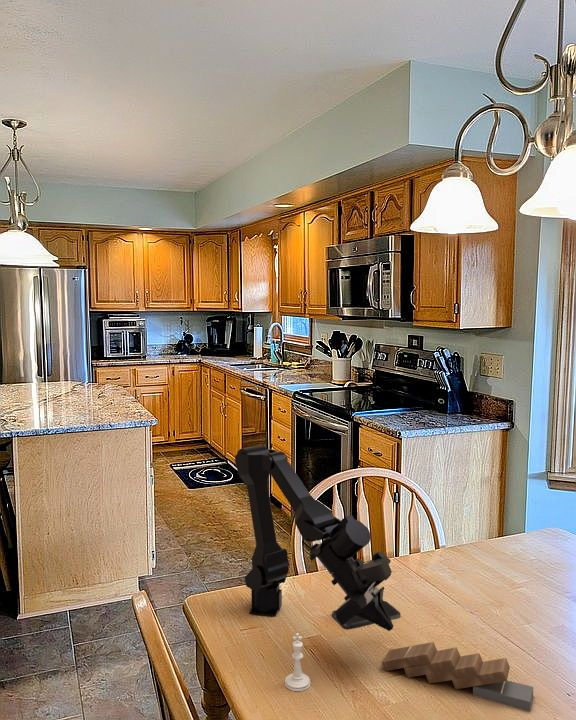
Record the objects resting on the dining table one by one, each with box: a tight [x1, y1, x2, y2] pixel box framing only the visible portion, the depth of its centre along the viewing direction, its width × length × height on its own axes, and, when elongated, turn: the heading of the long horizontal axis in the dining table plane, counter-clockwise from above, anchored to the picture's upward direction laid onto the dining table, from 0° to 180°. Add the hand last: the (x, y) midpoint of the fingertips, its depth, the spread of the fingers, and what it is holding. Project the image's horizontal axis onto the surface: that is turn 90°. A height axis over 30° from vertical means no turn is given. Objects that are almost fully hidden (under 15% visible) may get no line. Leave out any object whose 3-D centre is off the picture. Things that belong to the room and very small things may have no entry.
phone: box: [331, 600, 401, 630], centre depth 145 cm, size 8×1×15 cm
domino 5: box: [472, 679, 534, 712], centre depth 115 cm, size 2×5×10 cm
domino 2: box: [403, 646, 461, 678], centre depth 121 cm, size 2×5×10 cm
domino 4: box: [451, 657, 511, 690], centre depth 117 cm, size 2×5×10 cm
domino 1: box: [381, 641, 438, 672], centre depth 123 cm, size 2×5×10 cm
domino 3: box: [425, 652, 484, 684], centre depth 119 cm, size 2×5×10 cm
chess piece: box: [284, 632, 311, 692], centre depth 119 cm, size 5×5×10 cm
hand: (391, 629), depth 125 cm, fingers closed
